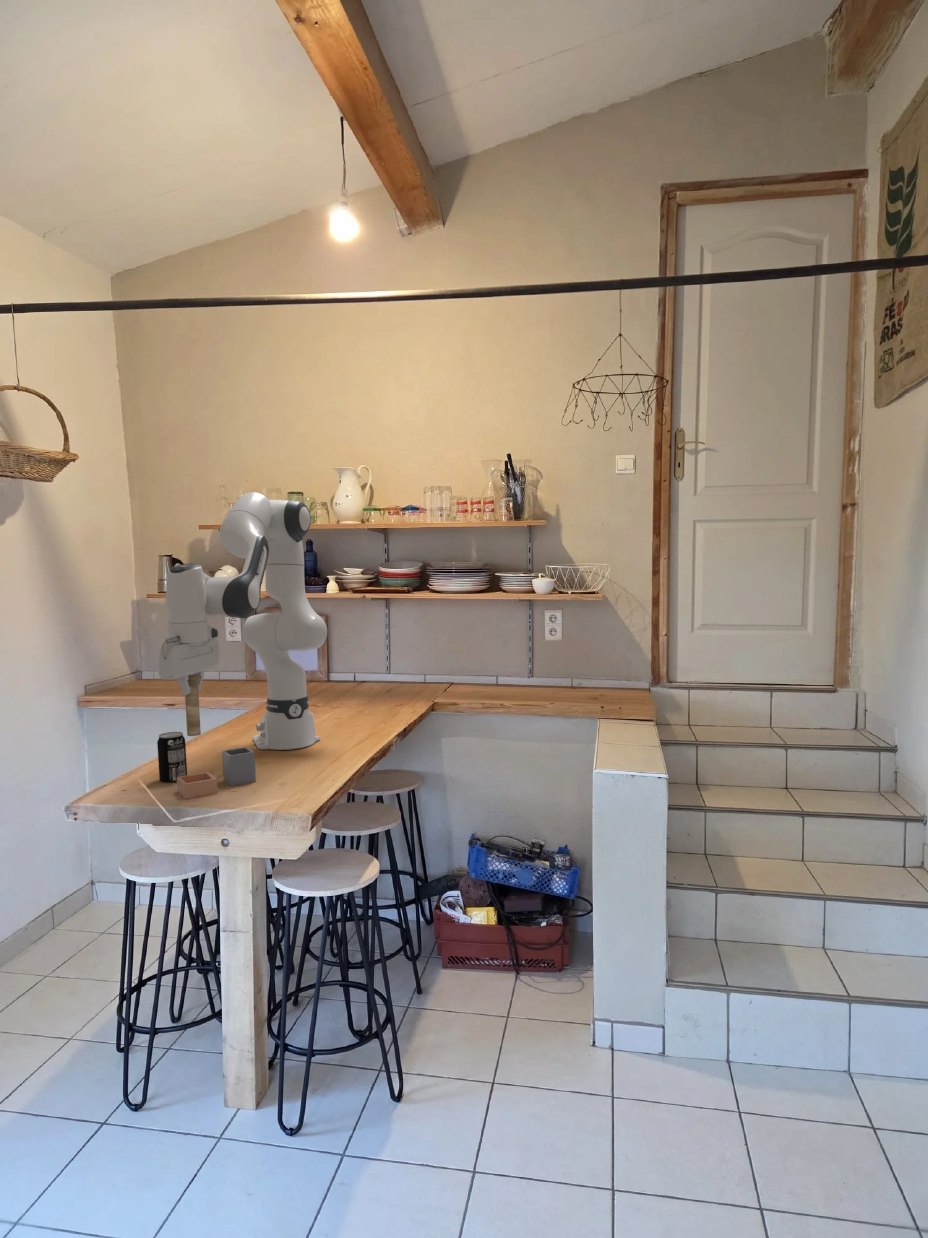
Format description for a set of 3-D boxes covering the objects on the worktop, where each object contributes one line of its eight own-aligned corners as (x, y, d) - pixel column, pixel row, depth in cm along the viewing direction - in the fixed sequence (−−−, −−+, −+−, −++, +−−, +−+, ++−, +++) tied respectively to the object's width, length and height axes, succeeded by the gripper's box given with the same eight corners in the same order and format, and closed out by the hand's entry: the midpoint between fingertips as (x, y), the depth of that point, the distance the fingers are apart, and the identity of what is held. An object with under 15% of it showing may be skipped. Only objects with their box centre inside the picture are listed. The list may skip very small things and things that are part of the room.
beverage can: (166, 777, 202) (163, 731, 201) (191, 777, 202) (188, 731, 201) (155, 785, 195) (152, 737, 194) (181, 785, 195) (178, 737, 194)
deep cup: (223, 782, 196) (221, 750, 196) (248, 778, 200) (246, 747, 199) (230, 788, 191) (229, 756, 190) (255, 783, 194) (254, 752, 194)
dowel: (185, 734, 186) (182, 675, 185) (198, 732, 188) (195, 674, 186) (189, 736, 183) (185, 677, 182) (202, 734, 185) (198, 675, 184)
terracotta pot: (177, 793, 188) (176, 777, 188) (208, 787, 192) (208, 771, 192) (184, 801, 182) (184, 784, 181) (217, 795, 186) (216, 778, 185)
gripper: (175, 639, 173) (178, 701, 174) (222, 629, 193) (225, 685, 194) (149, 639, 174) (153, 701, 175) (199, 629, 194) (202, 685, 195)
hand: (191, 692), depth 185 cm, fingers closed on dowel, 3 cm apart
